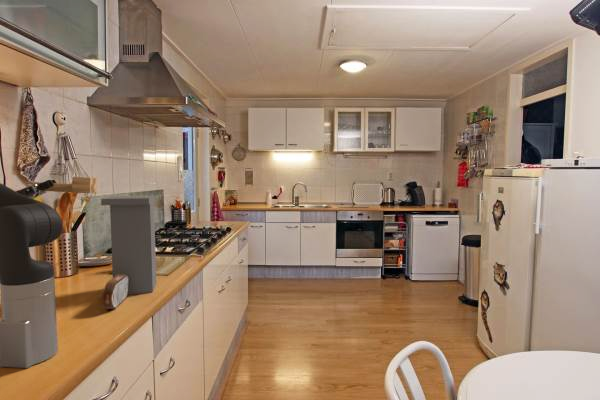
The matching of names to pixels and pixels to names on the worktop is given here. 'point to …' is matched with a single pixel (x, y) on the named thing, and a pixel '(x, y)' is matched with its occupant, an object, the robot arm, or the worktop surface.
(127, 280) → the tin
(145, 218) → the stand
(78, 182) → the brown wooden block
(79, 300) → the worktop surface
